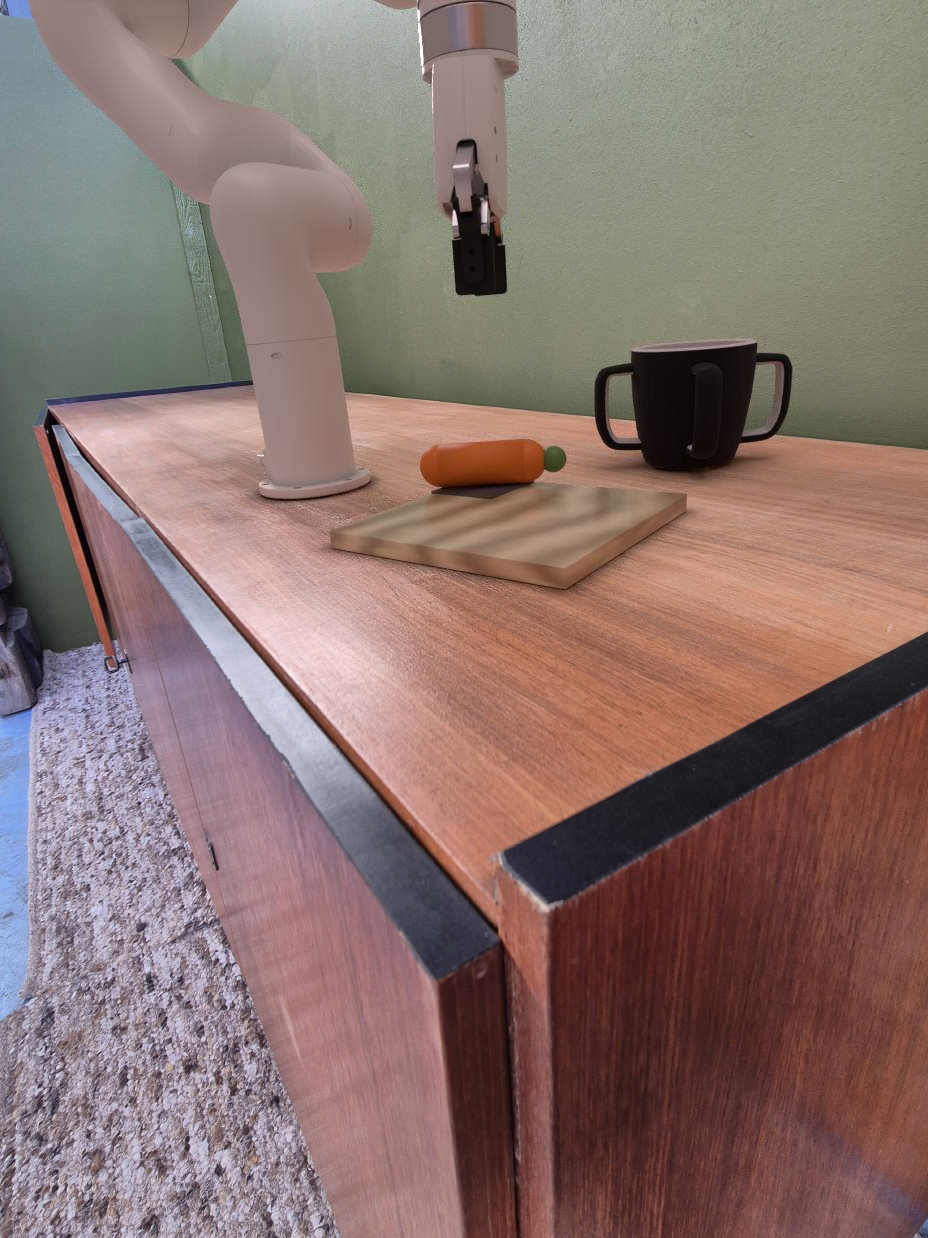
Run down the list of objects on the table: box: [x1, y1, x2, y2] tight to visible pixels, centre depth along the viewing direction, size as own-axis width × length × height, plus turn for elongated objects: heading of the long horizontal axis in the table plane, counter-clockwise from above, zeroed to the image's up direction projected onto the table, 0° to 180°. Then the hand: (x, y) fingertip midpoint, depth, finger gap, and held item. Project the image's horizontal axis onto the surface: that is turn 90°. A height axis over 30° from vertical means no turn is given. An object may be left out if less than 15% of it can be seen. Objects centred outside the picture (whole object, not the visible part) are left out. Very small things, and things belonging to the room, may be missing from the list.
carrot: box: [419, 438, 567, 488], centre depth 67 cm, size 14×4×4 cm, turn 83°
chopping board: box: [328, 480, 688, 590], centre depth 59 cm, size 22×20×2 cm
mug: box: [593, 338, 793, 471], centre depth 74 cm, size 16×16×12 cm
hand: (483, 294), depth 62 cm, fingers open, 9 cm apart
